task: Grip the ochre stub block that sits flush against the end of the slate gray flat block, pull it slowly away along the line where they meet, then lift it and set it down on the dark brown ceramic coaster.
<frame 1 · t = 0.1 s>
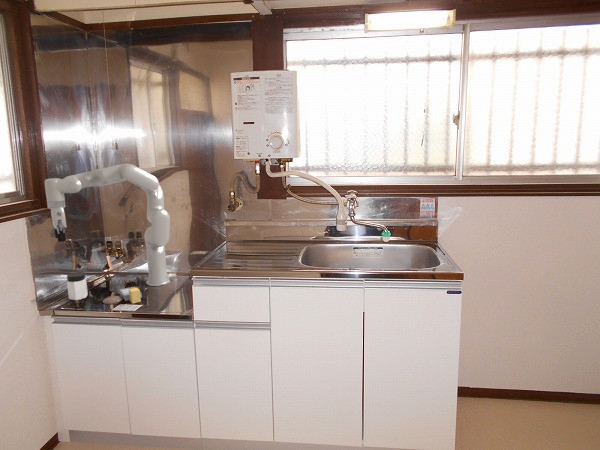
hand: (60, 239, 215), 31 cm above the counter, tool pointing down, fingers open, 9 cm apart
jar: (78, 297, 226), on the counter
gray flat block: (130, 295, 226), on the counter
stub: (135, 301, 219), on the counter
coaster: (112, 300, 220), on the counter
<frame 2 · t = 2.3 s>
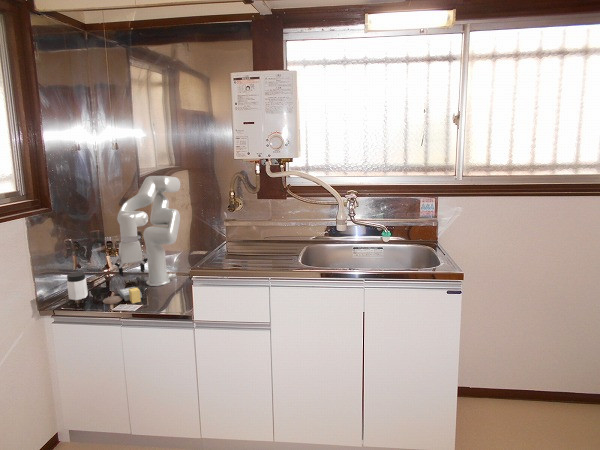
hand: (132, 273, 216), 14 cm above the counter, tool pointing down, fingers open, 9 cm apart
nothing on the counter moved.
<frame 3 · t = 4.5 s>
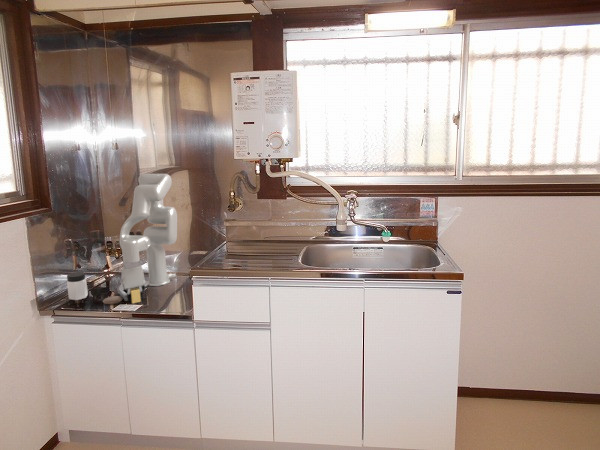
hand: (135, 299, 219), 1 cm above the counter, tool pointing down, fingers closed on stub, 3 cm apart
stub: (135, 301, 219), on the counter, touching gripper
everything else where it was.
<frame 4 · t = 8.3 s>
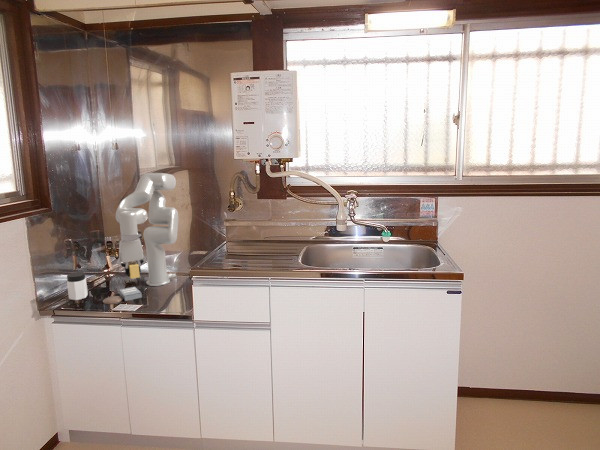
hand: (133, 274, 212), 15 cm above the counter, tool pointing down, fingers closed on stub, 4 cm apart
stub: (133, 276, 211), point 14 cm above the counter, touching gripper
everything else where it was.
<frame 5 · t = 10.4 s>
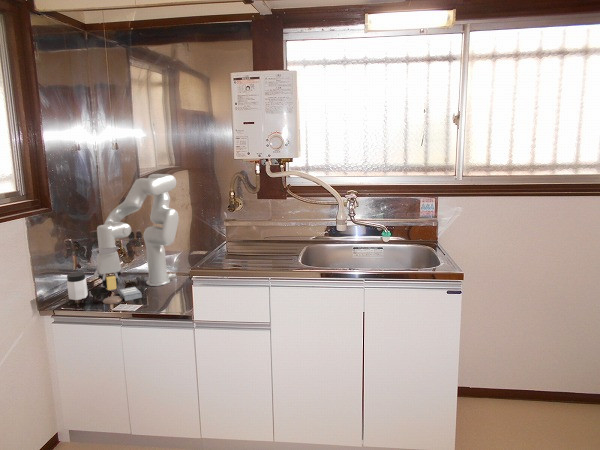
hand: (110, 286, 218), 8 cm above the counter, tool pointing down, fingers closed on stub, 4 cm apart
stub: (111, 288, 218), point 7 cm above the counter, touching gripper
everything else where it was.
when the fingers open (3 cm above the counter, at t = 12.0 s): stub drops 1 cm, resting on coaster.
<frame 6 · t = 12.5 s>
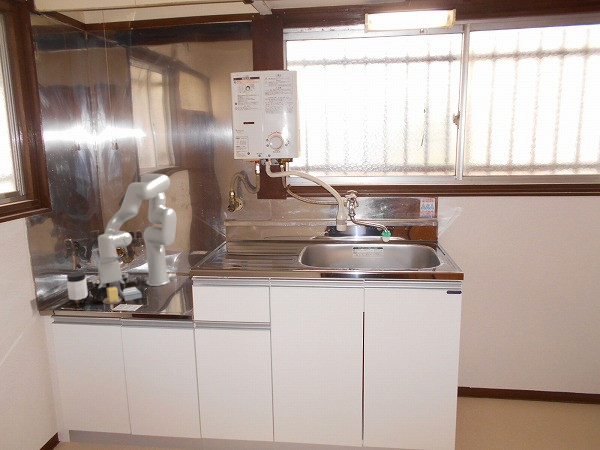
hand: (112, 293, 219), 4 cm above the counter, tool pointing down, fingers open, 9 cm apart
stub: (113, 299, 219), point 1 cm above the counter, touching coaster
everything else where it was.
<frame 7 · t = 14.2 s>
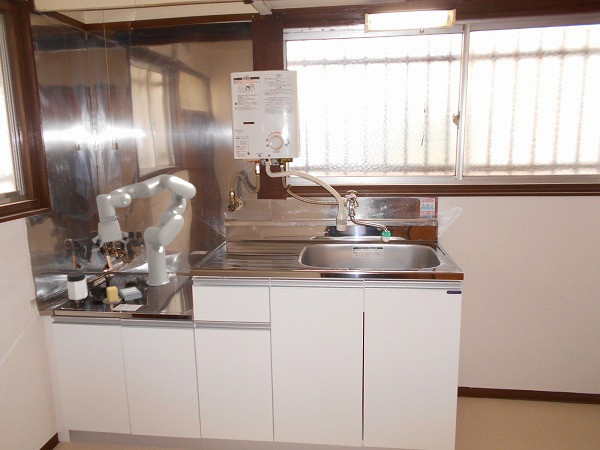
hand: (113, 252, 225), 22 cm above the counter, tool pointing down, fingers open, 9 cm apart
nothing on the counter moved.
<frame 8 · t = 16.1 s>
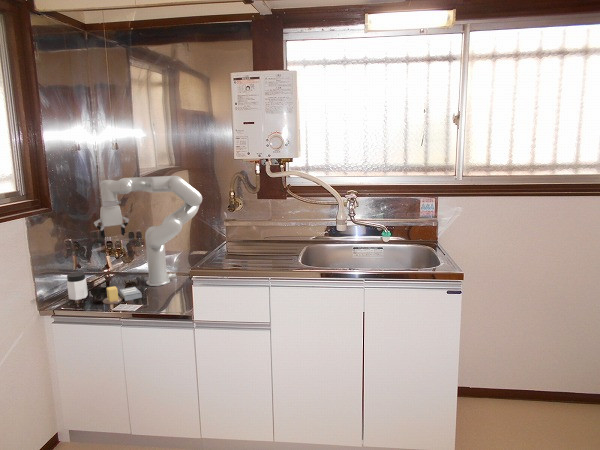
hand: (113, 236, 233), 28 cm above the counter, tool pointing down, fingers open, 9 cm apart
nothing on the counter moved.
at the end: stub inside the target area on the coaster (0.6 cm from its centre), point 0.8 cm above the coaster's base; stub moved 10.9 cm from its start; stub tilted 0° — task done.
